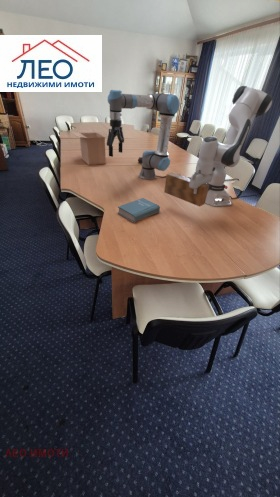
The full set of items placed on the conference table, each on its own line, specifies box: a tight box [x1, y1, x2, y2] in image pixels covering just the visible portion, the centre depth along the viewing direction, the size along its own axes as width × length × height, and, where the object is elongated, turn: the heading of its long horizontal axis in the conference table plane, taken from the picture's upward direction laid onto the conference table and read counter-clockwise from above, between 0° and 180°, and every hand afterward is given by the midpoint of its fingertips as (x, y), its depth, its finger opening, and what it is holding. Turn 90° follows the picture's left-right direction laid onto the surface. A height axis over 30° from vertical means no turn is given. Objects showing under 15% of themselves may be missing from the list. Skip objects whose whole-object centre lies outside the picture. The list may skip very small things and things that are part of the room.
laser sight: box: [137, 156, 142, 165], centre depth 237 cm, size 10×22×10 cm, turn 78°
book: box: [117, 197, 161, 223], centre depth 145 cm, size 23×16×5 cm
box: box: [70, 129, 109, 166], centre depth 229 cm, size 44×36×27 cm
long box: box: [163, 172, 209, 207], centre depth 139 cm, size 28×6×12 cm, turn 46°
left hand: (115, 154), depth 154 cm, fingers open, 13 cm apart
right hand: (198, 192), depth 133 cm, fingers closed on long box, 6 cm apart
